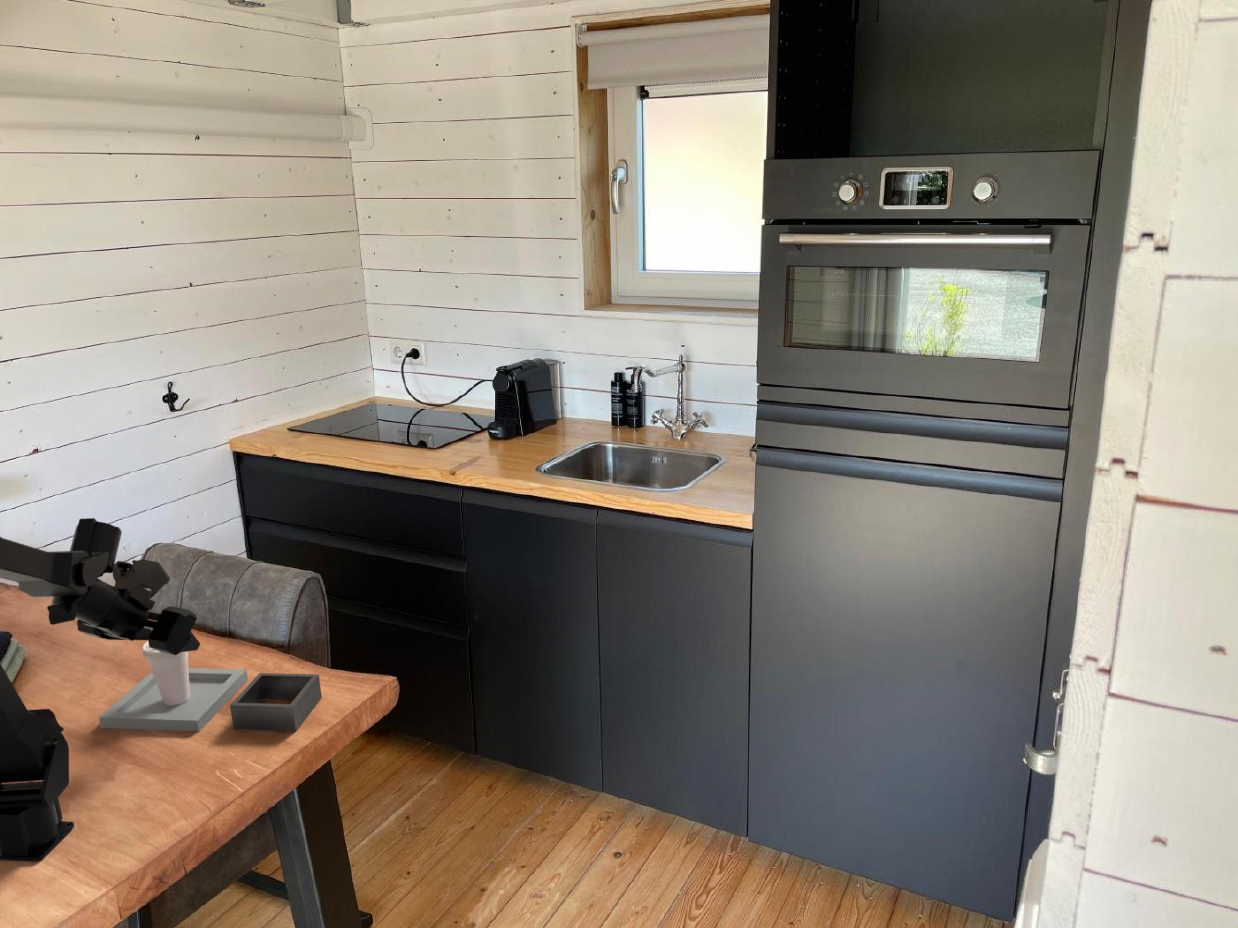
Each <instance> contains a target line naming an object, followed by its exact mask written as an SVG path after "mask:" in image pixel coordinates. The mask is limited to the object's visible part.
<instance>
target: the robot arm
mask: <svg viewBox="0 0 1238 928" xmlns="http://www.w3.org/2000/svg"><path fill="white" fill-rule="evenodd" d="M73 534H74V535H73V537H72V541H71V545H70V548H69V550H57V551H46V550H42V549H40V548H38V547H33V546H30V545H28V544H24V543H20V542H18V541H14V540H10V539H7V538H4V537H1V536H0V579H3V580H8V581H11V582H14V583H17V584H18V585H17V586H18V590H19V591H21V592H22V593H24V594H26V595H28V596H30V597H32V598H42V597H43V598H45V597H46V598H47V597H52V600H51V604H50V605H47V607H46V609H47V611H48V621H49V624H50V625H51V626H54V625H58V624H64V623H69V622H72V621H74V620H75V619H77V621H76V626H77V630H78V631H79V632H81V633H82V634H84V635H87V636H91V637H96V638H100V639H103V640H108V641H117V640H118V641H130V642H134V641H148V642H149V647H150V648H152V649H155V650H157V651H160V652H164V653H168V654H172V655H177V654H179V653H180V652H187V651H188V652H193V651H194V652H195V651H198V650H199V649H200V646H201V642H200V641H199V640H198V638H197V636H195V634H194V633H193V631H192V629H193V627H194V626H195V624H196V622H197V619H198V617H197V614H196V613H194V612H192V611H191V610H189V609H187V608H181V607H176V606H172V605H169V606H167V607H165V608H163V609H162V610H161V612H160V613H156V612H151V610H153V608H154V605H155V604H156V601H154V600H153V599H152V598H154V596H156V594H157V593H158V592H159V591H161V590H162V588H163V587H164V586H165V585H167V584H168V583H169V582H170V580H171V578H170V577H171V576H170V575H169V574H168V573H167V571H166V570H165V568H164V567H163V565H162V564H161V563H160V562H158V561H154V560H150V559H149V560H148V559H143V558H142V559H138V560H136V559H133V560H132V561H131V562H132V563H129V562H128V561H127V562H126V561H123V560H118V561H116V558H117V555H118V549H119V545H120V542H121V539H122V530H121V528H120V527H119V526H115V525H113V524H110V523H107V522H102V521H98V520H97V519H96V518H94V517H92V518H91V517H89V518H79V520H78V524H76V527H75V530H74V533H73ZM104 574H112V578H113V580H114V581H115V582H114V586H113V585H112V584H110V583H107V582H105V581H103V580H101V579H99V578H101V577H103V576H104ZM56 717H57V716H56V715H55V713H54V712H53V711H52V710H51V709H50V708H40V709H38V708H36V709H28V708H27V707H26V705H25V704H24V701H23V700H22V698H21V697H20V695H19V694H18V691H17V690H16V688H15V686H14V685H13V683H12V681H11V679H10V678H9V675H8V674H7V673H6V671H5V669H4V668H3V665H2V664H1V663H0V860H9V861H10V860H11V861H13V860H15V861H32V862H33V861H34V862H38V861H41V860H42V859H44V858H45V857H47V855H48V854H49V853H50V852H51V851H52V850H53V849H54V848H55V846H56V845H58V843H59V844H60V842H61V841H62V839H63V838H64V837H66V836H67V835H68V833H70V832H71V830H72V829H74V828H75V822H74V821H65V820H64V821H63V814H62V809H61V804H60V800H59V797H60V796H61V795H62V794H63V792H64V791H65V790H66V788H68V786H69V785H70V750H69V744H68V741H67V739H65V736H64V734H63V731H64V727H63V726H61V725H60V724H59V723H58V720H57V718H56ZM63 840H64V839H63Z"/></svg>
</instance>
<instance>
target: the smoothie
mask: <svg viewBox="0 0 1238 928" xmlns="http://www.w3.org/2000/svg"><path fill="white" fill-rule="evenodd" d="M141 650H142V655H143V657H145V658H146V661H147V663H148V665H149V668H150V670H151V672H152V674H153V676H154V679H155V681H156V684H157V687H158V689H159V692H160V695H161V697H162V700H163V702H164V704H165V705H167V706H174V705H179V704H182V703H184V702H186V701H187V700H188V699H189V698H190V688H189V670H188V668H189V655H188V654H189V653H188V652H189V651H187V652H180V653H179V654H177V655H172V654H168V653H164V652H160V651H157V650H155V649H152V648H150V647H149V642H148V640H146V641H145V643H144V644H143V645H142V647H141Z"/></svg>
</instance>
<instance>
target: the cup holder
mask: <svg viewBox="0 0 1238 928" xmlns="http://www.w3.org/2000/svg"><path fill="white" fill-rule="evenodd" d="M320 681H321V680H320V674H318V673H317V674H311V673H308V674H307V673H277V672H275V673H274V672H259V673H258V674H257V675H256V676H255V678H253V679H252V681H251V682H249V683H248V685H247V686H246V687H245V688H244V689H243V691H242V692H240V693H239V694H238V695H237V697H236V698H235V699H234V700H232V702H231V704H229V708H230V713H231V721H232V722H231V723H232V727H233V730H234V731H236V730H239V731H259V732H260V731H264V732H265V731H266V732H291V733H292V732H294V733H296V732H297V731H298V730H299V728H301V726H302V725H303V723H304V722H305V720H306V719H307V718H308V717H309V716H310V714H311V713H312V712H313V710H314V708H315V707H316V706H317V705H318V703H320V701H321V699H322V690H321V682H320ZM266 699H269V700H270V699H271V700H292V702H291V703H290V704H289V703H288V704H287V703H263V702H264V701H265V700H266Z"/></svg>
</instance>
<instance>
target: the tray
mask: <svg viewBox="0 0 1238 928" xmlns="http://www.w3.org/2000/svg"><path fill="white" fill-rule="evenodd" d="M188 670H189V688H190V698H189V699H188V700H187V701H186V702H184V703H182V704H179V705H174V706H167V705H165V704H164V702H163V700H162V697H161V695H160V692H159V689H158V687H157V684H156V681H155V679H154V676H153V674H152V671H151V672H150V673H148V674H147V675H146V676H145V677H144V678H142V679H141V681H139V682H138V683H137V684H136V685H135V686H133V687H132V688H131V689H130V690H129V691H128V692H127V693H125V694H124V695H123V696H122V697H120V699H118V700H117V701H116V702H115V703H114V704H112V705H111V706H110V707H109V708H108V709H107V710H105V711H104V712H103V713H102V714H101V715H100V716H99V717H98V718H99V720H98V721H99V725H100V728H101V729H107V730H108V729H113V730H141V731H144V730H145V731H174V732H200V731H201V730H202V729H203V728H204V727H205V726H206V725H207V724H208V723H209V722H210V720H212V719H213V718H214V717H215V715H216V714H217V713H218V712H219V711H220V710H221V709H222V708H223V707H224V706H225V705H226V704H227V703H228V702H229V701H230V699H231V698H232V697H233V696H234V695H235V694H236V693H237V692H238V691H239V690H240V689H241V688H242V687H243V685H245V684H246V682H247V681H248V672H247V669H241V668H240V669H238V668H237V669H236V668H204V667H203V668H202V667H196V668H195V667H188Z"/></svg>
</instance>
